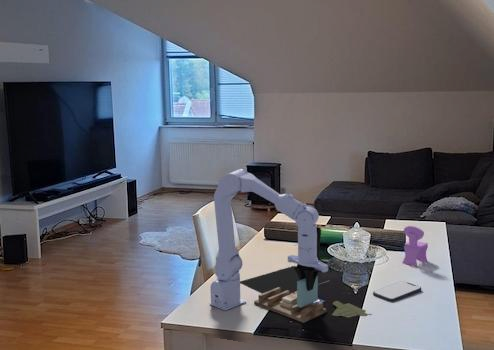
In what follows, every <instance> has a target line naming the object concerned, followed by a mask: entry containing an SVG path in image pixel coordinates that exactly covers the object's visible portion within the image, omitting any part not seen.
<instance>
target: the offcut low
mask: <svg viewBox="0 0 494 350" xmlns="http://www.w3.org/2000/svg"><path fill="white" fill-rule="evenodd" d="M296 304H297V302H295V303H293V304H288V303H285V302H282V301H281V302H280V306H283V307H285V308H288V309H291V307H292V306H294V305H296Z"/></svg>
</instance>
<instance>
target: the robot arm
mask: <svg viewBox="0 0 494 350" xmlns="http://www.w3.org/2000/svg"><path fill="white" fill-rule="evenodd" d="M239 192H240V193H249V192H250V193H251V192H253V193H254V194H256V195H258V196H260V197H262V198H264V199H265V200H267V201H269V202H270V203H272V204H274V206H275V209H276V211H278V212H280V213H281V214H283V215H284V216H287V217H288V218H290V219H291V220H293V221H295V224H296V226H297V255H294V254H291V255H288V256H287V263H294V264H295V266H296V267H295V271H296V273H297V274H298V277H299V279H300V280H302V279H304V278H306V285H307V290H308V291H310V290H312V289H313V287H314V283H315V280H316V277H317V275H319V274H320V271H321V272H322V273H326V272H329V264H327V263H325V262H322V261H320V260H319V258H317V227H318V226H317V222H318V221H319V218H320V215H319V212H318V210H317V209H316V207H314V206H313V205H307V203H305V202H303V203H302V202H301V201H299V200H297V199H296V198H294V195H293V194H291V193H289V194H288V193H283V194H280V193H279V192H277V191H276V190H275V189H274V188H272V187H270V186H268V185H267V184H266V183H264V182H263V181H262V180H261V179H259V178H257V177H256V176H255V175H254V174H253V173H251V172H248V171H247V170H245V169H243V168H238V169H236V170H234V171H231V172H229V173H226V174H225V175H223V176H222V177H221V178H220V179H219V180H218V184H217V188H216V189H215V192H214V195H213V201H214V203H213V204H214V213H215V215H214V216H215V223H216V233H217V243H218V245H217V246H218V251H217V254H216V256H215V265H214V268H213V270H214V275H215V277H216V279H215V280H214V281H212V283H211V284H210V302H209V303H208V304H209V305H211V306H212V307H215V308H218V309H221V310H223V311H228V310H230V309H233V308H235V307H237V306H238V307H239V306H240V305H243V304H246V303H247V300H245V299H242V298H241V283H240V281H241V277H240V276H241V274H240V270H241V269H242V268H243V258H241V256H240V252H239V249H238V248H237V247H236V243H235V242H236V240H235V231H234V230H235V229H234V219H233V218H234V217H233V208H232V206H233V205H232V199H233V198H234V197H235V196H236V195H237V194H238V193H239Z"/></svg>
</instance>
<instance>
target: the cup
mask: <svg viewBox="0 0 494 350" xmlns="http://www.w3.org/2000/svg"><path fill="white" fill-rule="evenodd" d="M321 236H322V228H321V227H319V226H317V258H318V259H319V257H320V247H321V246H320V245H321Z"/></svg>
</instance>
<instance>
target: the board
mask: <svg viewBox="0 0 494 350" xmlns="http://www.w3.org/2000/svg"><path fill="white" fill-rule="evenodd" d="M318 288H319V285H318V276H317V277H316V280H315V283H314V287H313V289H312V290H310V291H308V290H307V285H306V278H304V279H302V280H299V281H297V292H296V295H297V306H298V307H303V306H306V305H308V304H310V303H312V302H313V303H314V302H317V301H318V298H319V297H318V296H319V295H318V290H319V289H318Z"/></svg>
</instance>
